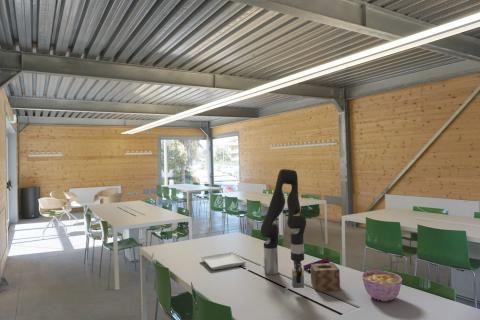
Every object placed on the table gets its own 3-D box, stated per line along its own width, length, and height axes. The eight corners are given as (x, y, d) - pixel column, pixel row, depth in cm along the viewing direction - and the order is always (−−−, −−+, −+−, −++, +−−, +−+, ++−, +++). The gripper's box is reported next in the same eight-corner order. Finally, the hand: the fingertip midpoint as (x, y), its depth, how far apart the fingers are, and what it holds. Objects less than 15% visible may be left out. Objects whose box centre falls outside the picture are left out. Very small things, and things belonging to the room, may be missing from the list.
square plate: (211, 272, 230) (211, 267, 230) (199, 261, 255) (199, 256, 254) (247, 266, 241) (246, 260, 241) (232, 256, 266) (232, 251, 266)
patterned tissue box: (315, 291, 191) (315, 270, 191) (311, 283, 203) (310, 263, 203) (340, 290, 191) (339, 269, 191) (334, 282, 203) (333, 263, 203)
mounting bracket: (304, 279, 227) (323, 273, 214) (300, 266, 230) (318, 260, 217) (313, 275, 233) (332, 270, 220) (309, 263, 235) (327, 257, 223)
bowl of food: (391, 289, 190) (390, 269, 189) (410, 305, 170) (409, 282, 169) (356, 291, 189) (356, 271, 189) (371, 307, 169) (371, 284, 169)
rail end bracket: (293, 288, 187) (292, 270, 186) (292, 286, 190) (292, 268, 189) (304, 287, 187) (303, 270, 186) (303, 285, 190) (302, 268, 189)
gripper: (288, 247, 195) (289, 277, 195) (292, 255, 181) (293, 286, 181) (301, 247, 195) (302, 276, 195) (306, 254, 181) (307, 286, 181)
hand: (298, 281), depth 188 cm, fingers closed on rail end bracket, 3 cm apart
